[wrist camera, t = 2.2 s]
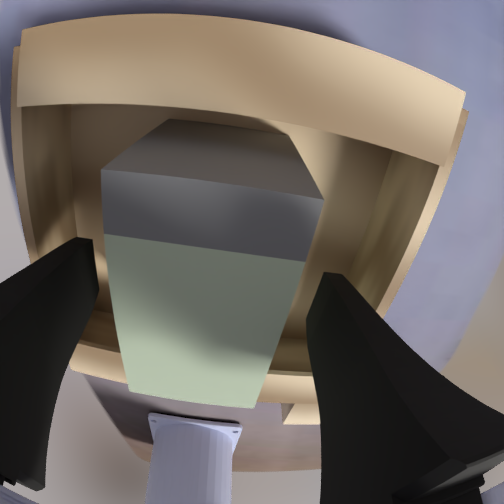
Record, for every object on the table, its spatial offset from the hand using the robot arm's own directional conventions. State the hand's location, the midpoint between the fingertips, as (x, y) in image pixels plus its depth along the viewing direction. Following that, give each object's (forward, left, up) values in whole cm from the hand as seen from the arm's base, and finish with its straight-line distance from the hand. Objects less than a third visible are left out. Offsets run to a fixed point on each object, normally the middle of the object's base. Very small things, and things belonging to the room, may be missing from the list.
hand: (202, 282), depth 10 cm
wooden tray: (0, 0, -5) cm, 5 cm away
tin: (0, 0, -4) cm, 4 cm away
